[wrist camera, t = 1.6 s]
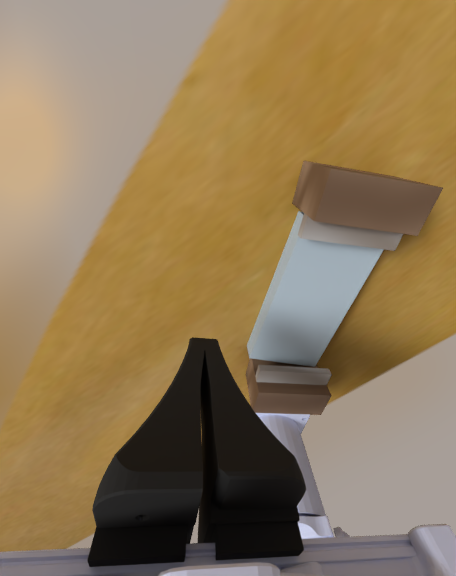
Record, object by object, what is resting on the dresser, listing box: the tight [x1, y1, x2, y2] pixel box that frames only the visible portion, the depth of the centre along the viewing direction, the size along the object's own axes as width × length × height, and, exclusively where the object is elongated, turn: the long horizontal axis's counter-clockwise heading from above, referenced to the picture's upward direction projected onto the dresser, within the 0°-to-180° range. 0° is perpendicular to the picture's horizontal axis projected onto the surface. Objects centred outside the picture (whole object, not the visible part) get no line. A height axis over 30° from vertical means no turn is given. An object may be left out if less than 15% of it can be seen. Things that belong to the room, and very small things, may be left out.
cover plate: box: [247, 211, 384, 367], centre depth 20 cm, size 12×6×2 cm, turn 166°
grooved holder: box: [246, 161, 443, 415], centre depth 19 cm, size 18×6×4 cm, turn 171°
